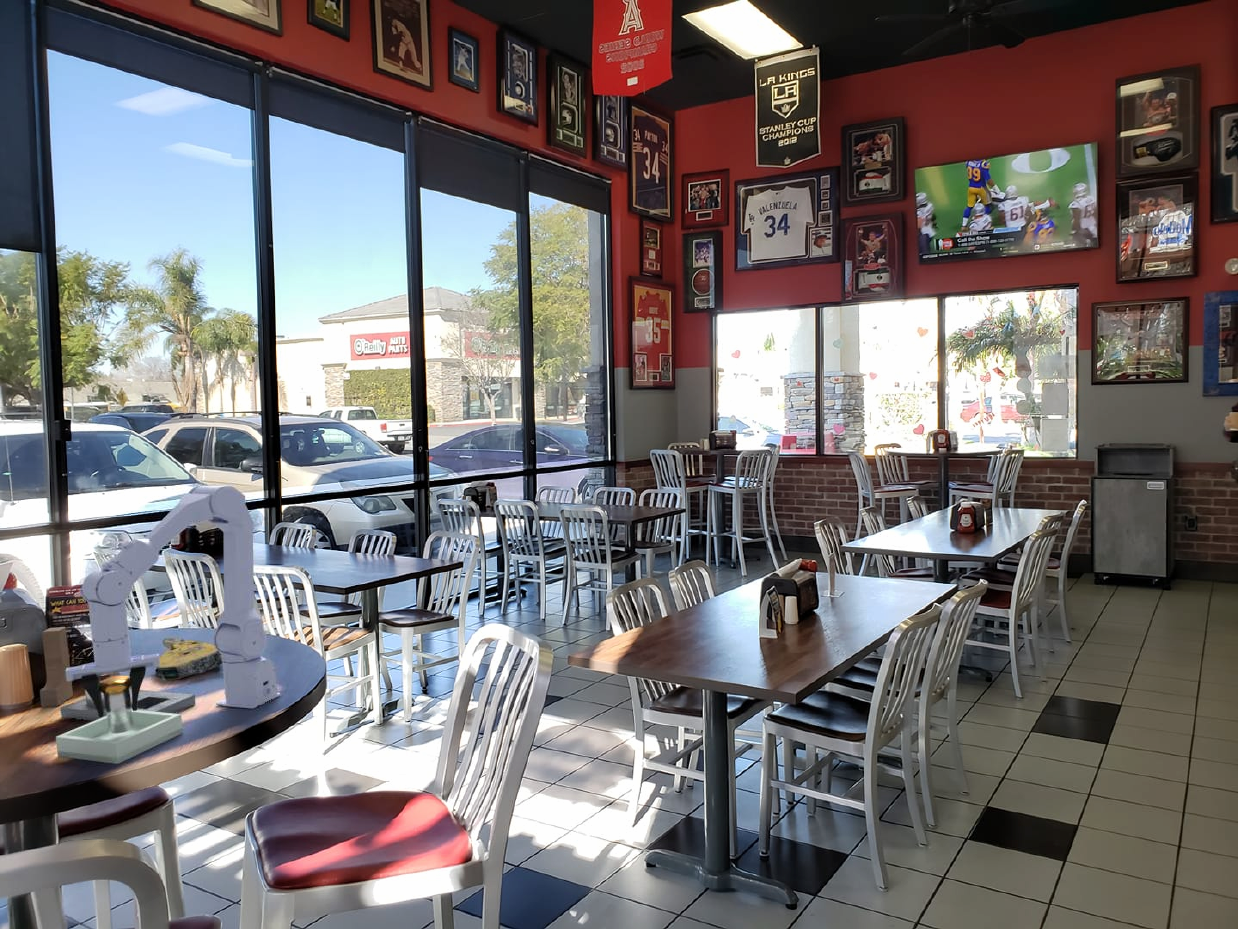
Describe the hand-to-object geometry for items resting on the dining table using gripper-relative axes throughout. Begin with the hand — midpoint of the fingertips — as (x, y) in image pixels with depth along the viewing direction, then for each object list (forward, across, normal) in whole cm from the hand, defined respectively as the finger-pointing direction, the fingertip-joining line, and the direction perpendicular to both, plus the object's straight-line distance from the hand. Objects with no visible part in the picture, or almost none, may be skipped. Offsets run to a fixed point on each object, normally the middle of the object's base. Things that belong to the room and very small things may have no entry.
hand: (118, 712), depth 164 cm
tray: (+6, 0, 0) cm, 6 cm away
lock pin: (+3, 0, -2) cm, 4 cm away
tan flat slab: (+6, -11, -48) cm, 50 cm away
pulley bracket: (+6, 0, -20) cm, 21 cm away
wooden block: (+6, +13, -35) cm, 38 cm away
